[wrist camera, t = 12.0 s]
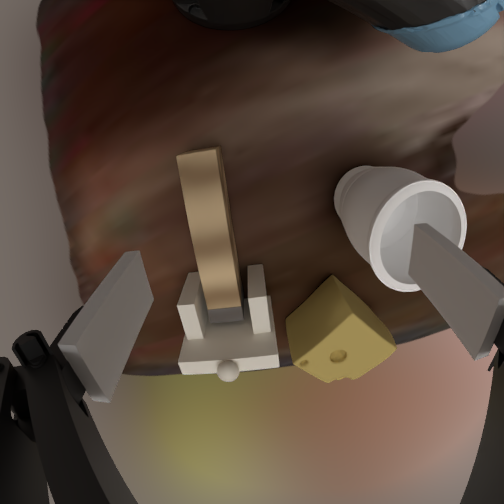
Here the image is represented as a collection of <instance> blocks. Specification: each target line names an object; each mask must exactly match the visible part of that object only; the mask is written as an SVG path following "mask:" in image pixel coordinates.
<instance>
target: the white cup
mask: <svg viewBox="0 0 504 504" xmlns="http://www.w3.org/2000/svg"><path fill="white" fill-rule="evenodd" d="M334 205H335V209H336V212H337V214H338V216H339V217H340V219H341V221H342V224H343V226H344V228H345V231H346V234H347V236H348V238H349V240H350V242H351V243H352V245H353V247H354V248H355V249H356V251H357V252H358V253H359V254H360V255H361V256H362V257H363V258H364V259H365V260H366V261H367V262H368V263H369V264H370V265H371V267H372V269H373V271H374V272H375V274H376V275H377V277H378V278H379V279H380V281H381V282H382V283H384V284H385V285H386V286H388V287H389V288H392V289H394V290H397V291H402V292H412V291H418V290H421V289H420V288H419V286H418V285H417V284H416V283H415V282H414V280H413V279H412V278H411V277H410V276H409V274H408V271H409V264H410V257H411V249H412V241H413V231H414V224H420V223H427V224H429V225H430V226H432V227H433V228H434V229H436V230H437V231H438V232H439V233H441V234H442V235H443V236H445V237H446V238H447V239H449V240H450V241H451V242H452V243H454V244H455V245H456V246H457V247H459V248H460V249H461V250H462V248H463V245H464V241H465V237H466V228H467V221H466V214H465V210H464V206H463V204H462V202H461V200H460V198H459V197H458V195H457V194H456V193H455V192H454V191H453V190H452V189H451V188H450V187H448V186H447V185H445V184H443V183H442V182H439V181H436V180H433V179H427V178H425V177H423V176H422V175H420V174H418V173H416V172H413V171H411V170H408V169H404V168H399V167H373V166H359V167H356V168H354V169H352V170H350V171H348V172H347V173H346V174H345V175H344V176H343V177H342V178H341V179H340V181H339V183H338V184H337V187H336V189H335V194H334Z"/></svg>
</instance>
